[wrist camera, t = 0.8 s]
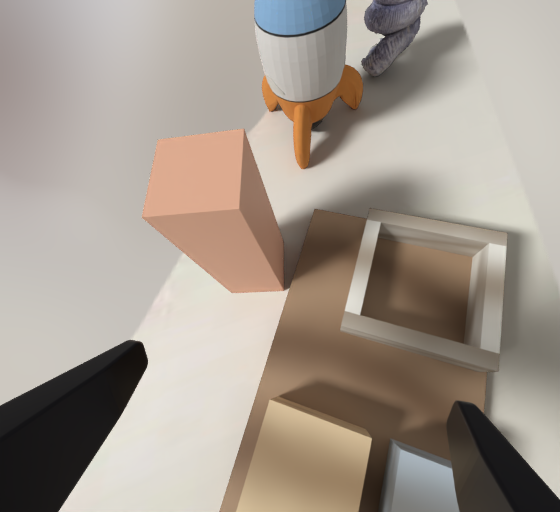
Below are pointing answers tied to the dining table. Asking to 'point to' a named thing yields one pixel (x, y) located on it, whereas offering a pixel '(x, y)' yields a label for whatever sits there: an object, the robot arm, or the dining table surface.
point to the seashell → (391, 30)
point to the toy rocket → (305, 62)
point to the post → (217, 209)
